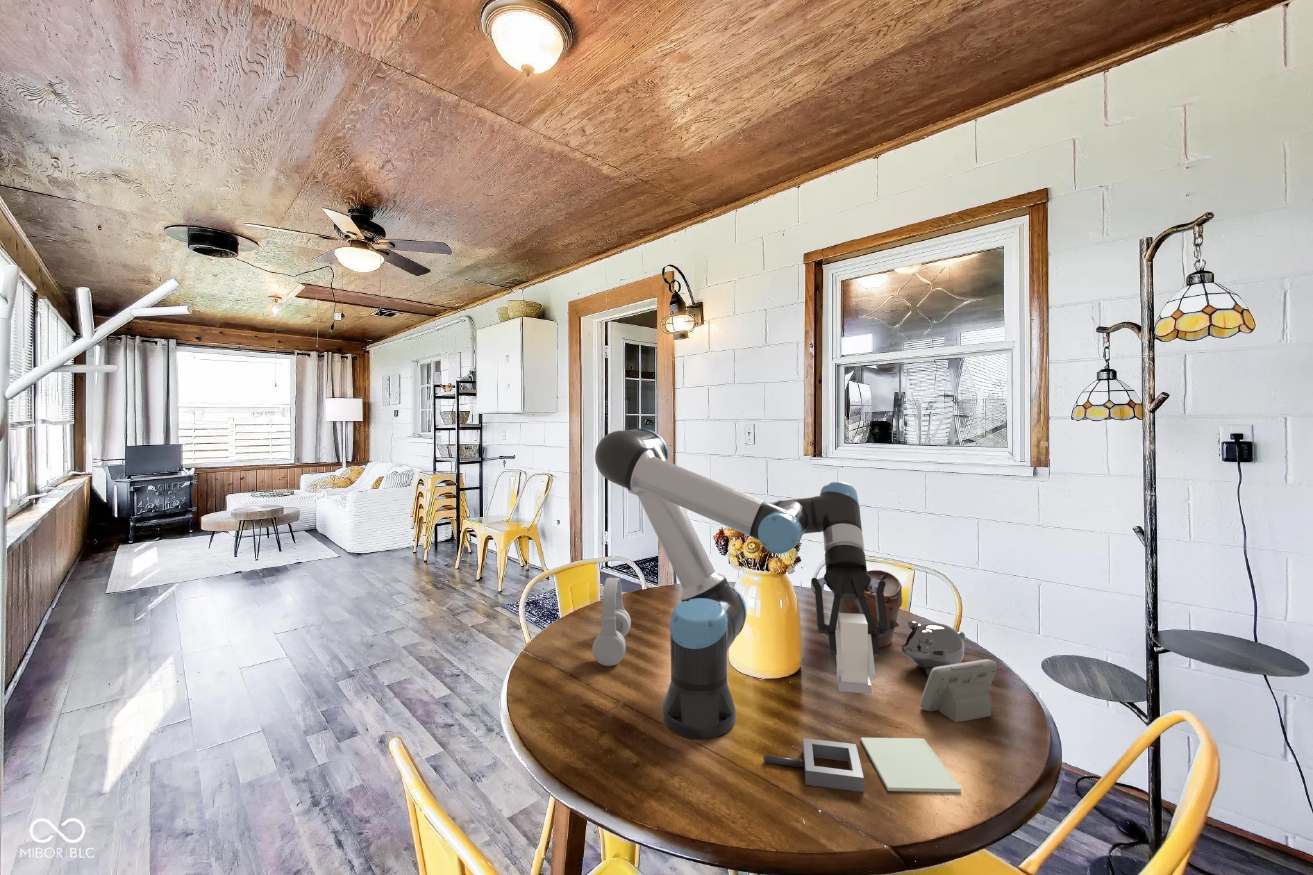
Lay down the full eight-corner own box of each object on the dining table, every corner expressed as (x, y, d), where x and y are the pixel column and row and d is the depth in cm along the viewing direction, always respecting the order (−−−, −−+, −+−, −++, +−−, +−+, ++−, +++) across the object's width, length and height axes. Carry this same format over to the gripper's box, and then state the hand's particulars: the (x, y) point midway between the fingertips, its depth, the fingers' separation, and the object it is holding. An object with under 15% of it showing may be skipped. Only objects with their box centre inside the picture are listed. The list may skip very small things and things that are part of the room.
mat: (888, 790, 92) (888, 787, 92) (860, 740, 106) (860, 737, 106) (960, 792, 91) (961, 788, 91) (923, 741, 105) (923, 738, 105)
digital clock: (982, 697, 121) (983, 650, 121) (1010, 721, 112) (1011, 670, 112) (910, 700, 120) (911, 653, 120) (934, 724, 111) (934, 673, 111)
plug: (839, 691, 94) (838, 622, 94) (836, 676, 99) (835, 611, 99) (871, 693, 93) (870, 624, 93) (867, 679, 98) (866, 613, 98)
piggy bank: (892, 660, 139) (893, 616, 139) (951, 660, 139) (952, 615, 139) (913, 682, 128) (914, 634, 128) (977, 681, 128) (978, 633, 127)
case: (832, 649, 145) (833, 583, 144) (832, 622, 164) (834, 563, 163) (905, 660, 140) (907, 591, 139) (897, 630, 159) (899, 569, 158)
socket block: (762, 778, 95) (762, 764, 95) (764, 746, 104) (764, 733, 104) (863, 792, 92) (863, 777, 92) (855, 757, 101) (855, 744, 101)
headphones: (625, 667, 137) (624, 591, 136) (591, 667, 137) (590, 591, 136) (631, 634, 157) (630, 568, 156) (602, 634, 157) (601, 568, 156)
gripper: (889, 563, 108) (908, 686, 93) (798, 560, 112) (802, 677, 97) (894, 543, 103) (915, 670, 88) (798, 541, 107) (802, 662, 92)
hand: (856, 673), depth 92 cm, fingers closed on plug, 4 cm apart
